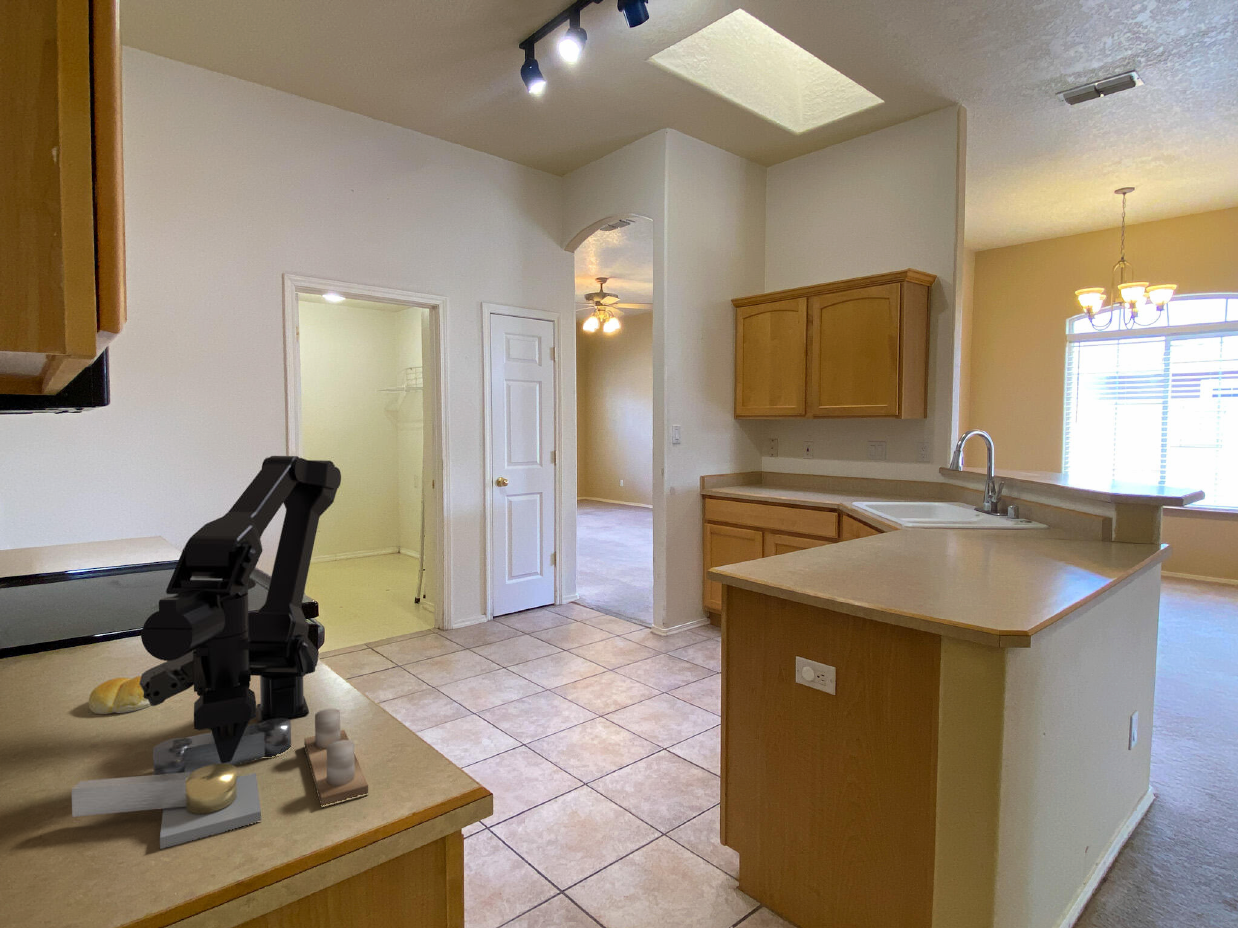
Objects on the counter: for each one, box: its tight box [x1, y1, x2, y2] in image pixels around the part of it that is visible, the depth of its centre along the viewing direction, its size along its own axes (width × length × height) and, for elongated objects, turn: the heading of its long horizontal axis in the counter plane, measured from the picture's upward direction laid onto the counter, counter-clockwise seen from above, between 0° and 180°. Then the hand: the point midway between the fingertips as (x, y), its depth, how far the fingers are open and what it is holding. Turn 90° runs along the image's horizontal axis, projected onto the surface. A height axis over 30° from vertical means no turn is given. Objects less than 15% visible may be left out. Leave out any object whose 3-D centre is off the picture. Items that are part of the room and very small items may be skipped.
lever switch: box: [70, 763, 238, 818], centre depth 72 cm, size 15×5×3 cm, turn 102°
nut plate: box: [159, 772, 262, 850], centre depth 73 cm, size 9×9×1 cm
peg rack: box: [303, 708, 369, 806], centre depth 82 cm, size 16×5×5 cm, turn 32°
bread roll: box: [88, 675, 151, 715], centre depth 100 cm, size 8×9×4 cm
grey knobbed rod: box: [152, 718, 292, 775], centre depth 84 cm, size 15×4×4 cm, turn 122°
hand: (225, 751), depth 84 cm, fingers open, 6 cm apart
